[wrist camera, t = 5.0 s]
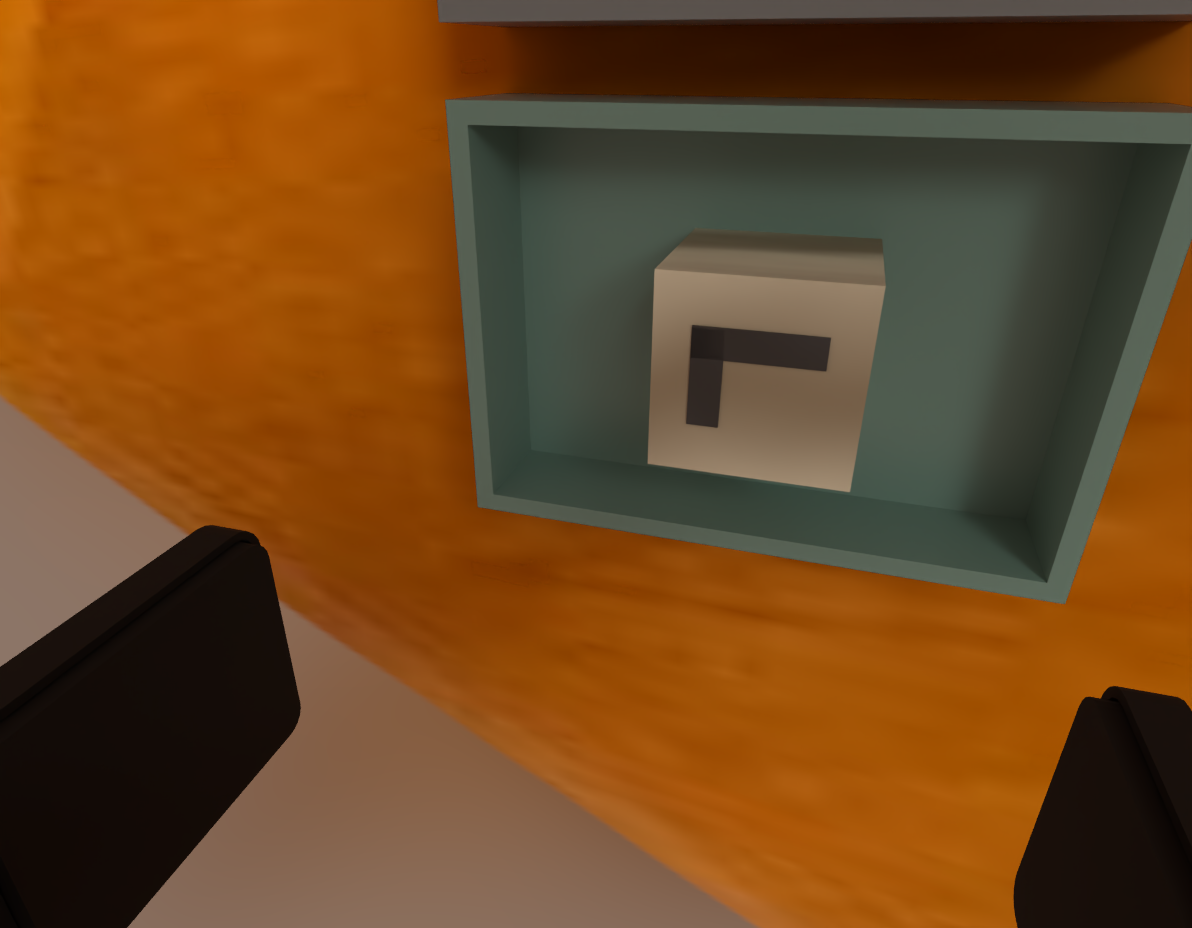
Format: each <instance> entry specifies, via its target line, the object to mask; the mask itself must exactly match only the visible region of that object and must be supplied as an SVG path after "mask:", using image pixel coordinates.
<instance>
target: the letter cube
mask: <svg viewBox="0 0 1192 928" xmlns="http://www.w3.org/2000/svg"><path fill="white" fill-rule="evenodd" d="M885 288H886V283H885V270H884V257H883V244H882V239H874V238H858V237H841V236H824V235H807V234H790V233H774V232H757V231H740V230H723V229H706V228H695V229H694V230H693V231H692V232H691V233H690V234H689V235H688V236H687V237H686V238H685V239H684V240H683V241H682V242H681V243H680V244H679V245H678V246H677V247H676V248H675V249H674V250H673V251H672V252H671V253H670V254H669V255H668V256H667V257H666V258H665V259H664V260H663V261H662V262H661V263H660V264H659V265H658V266H657V267H656V268H655V272H654V300H653V328H652V356H651V384H650V412H649V440H648V464H653V465H660V466H667V467H674V468H681V469H689V470H696V471H703V472H710V473H717V474H724V475H731V476H738V477H745V478H752V479H759V480H767V481H774V482H781V483H788V484H795V485H802V486H809V487H816V488H823V489H830V490H837V491H844V492H850V489H851V483H852V477H853V471H854V466H855V460H856V454H857V448H858V443H859V437H860V431H861V425H862V420H863V414H864V408H865V402H866V397H867V391H868V385H869V379H870V374H871V368H872V362H873V356H874V351H875V345H876V339H877V333H878V328H879V322H880V316H881V310H882V305H883V299H884V293H885Z"/></svg>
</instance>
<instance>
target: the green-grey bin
mask: <svg viewBox="0 0 1192 928" xmlns="http://www.w3.org/2000/svg"><path fill="white" fill-rule="evenodd" d="M445 102H446V115H447V127H448V140H449V152H450V165H451V177H452V190H453V202H454V215H455V227H456V240H457V252H458V265H459V277H460V290H461V302H462V315H463V327H464V340H465V352H466V365H467V377H468V390H469V402H470V415H471V427H472V440H473V452H474V465H475V477H476V490H477V502H478V507H481V508H487V509H493V510H499V511H505V512H511V513H517V514H523V515H529V516H535V517H541V518H547V519H553V520H559V521H565V522H571V523H577V524H584V525H590V526H596V527H602V528H608V529H614V530H620V531H626V532H632V533H638V534H644V535H650V536H656V537H662V538H668V539H674V540H680V541H686V542H692V543H698V544H704V545H710V546H716V547H723V548H729V549H735V550H741V551H747V552H753V553H759V554H765V555H771V556H777V557H783V558H789V559H795V560H801V561H807V562H813V563H819V564H825V565H831V566H837V567H843V568H849V569H855V570H862V571H868V572H874V573H880V574H886V575H892V576H898V577H904V578H910V579H916V580H922V581H928V582H934V583H940V584H946V585H952V586H958V587H964V588H970V589H976V590H982V591H988V592H994V593H1001V594H1007V595H1013V596H1019V597H1025V598H1031V599H1037V600H1043V601H1049V602H1055V603H1061V604H1065V603H1066V600H1067V597H1068V594H1069V591H1070V588H1071V585H1072V583H1073V580H1074V577H1075V574H1076V571H1077V568H1078V565H1079V562H1080V560H1081V557H1082V554H1083V551H1084V548H1085V545H1086V542H1087V539H1088V536H1089V534H1090V531H1091V528H1092V525H1093V522H1094V519H1095V516H1096V513H1097V511H1098V508H1099V505H1100V502H1101V499H1102V496H1103V493H1104V490H1105V488H1106V485H1107V482H1108V479H1109V476H1110V473H1111V470H1112V467H1113V464H1114V462H1115V459H1116V456H1117V453H1118V450H1119V447H1120V444H1121V441H1122V439H1123V436H1124V433H1125V430H1126V427H1127V424H1128V421H1129V418H1130V416H1131V413H1132V410H1133V407H1134V404H1135V401H1136V398H1137V395H1138V392H1139V390H1140V387H1141V384H1142V381H1143V378H1144V375H1145V372H1146V369H1147V367H1148V364H1149V361H1150V358H1151V355H1152V352H1153V349H1154V346H1155V343H1156V341H1157V338H1158V335H1159V332H1160V329H1161V326H1162V323H1163V320H1164V318H1165V315H1166V312H1167V309H1168V306H1169V303H1170V300H1171V297H1172V295H1173V292H1174V289H1175V286H1176V283H1177V280H1178V277H1179V274H1180V271H1181V269H1182V266H1183V263H1184V260H1185V257H1186V254H1187V251H1188V248H1189V246H1190V243H1191V240H1192V107H1189V106H1183V105H1177V104H1171V103H1124V102H1058V101H993V100H927V99H862V98H796V97H730V96H665V95H599V94H533V93H503V94H494V95H485V96H475V97H466V98H457V99H447V100H445ZM695 228H706V229H723V230H740V231H757V232H774V233H790V234H807V235H824V236H841V237H858V238H874V239H882V244H883V257H884V270H885V283H886V288H885V293H884V299H883V305H882V310H881V316H880V322H879V328H878V333H877V339H876V345H875V351H874V356H873V362H872V368H871V374H870V379H869V385H868V391H867V397H866V402H865V408H864V414H863V420H862V425H861V431H860V437H859V443H858V448H857V454H856V460H855V466H854V471H853V477H852V483H851V489H850V492H844V491H837V490H830V489H823V488H816V487H809V486H802V485H795V484H788V483H781V482H774V481H767V480H759V479H752V478H745V477H738V476H731V475H724V474H717V473H710V472H703V471H696V470H689V469H681V468H674V467H667V466H660V465H653V464H648V440H649V412H650V384H651V356H652V328H653V300H654V272H655V268H656V267H657V266H658V265H659V264H660V263H661V262H662V261H663V260H664V259H665V258H666V257H667V256H668V255H669V254H670V253H671V252H672V251H673V250H674V249H675V248H676V247H677V246H678V245H679V244H680V243H681V242H682V241H683V240H684V239H685V238H686V237H687V236H688V235H689V234H690V233H691V232H692V231H693V230H694V229H695Z"/></svg>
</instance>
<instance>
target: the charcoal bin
mask: <svg viewBox="0 0 1192 928" xmlns="http://www.w3.org/2000/svg"><path fill="white" fill-rule="evenodd" d="M437 2H438V15H439V22H444V23H458V24H471V25H484V26H498V27H559V26H677V25H794V24H912V23H1030V22H1147V21H1192V0H437Z"/></svg>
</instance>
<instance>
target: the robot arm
mask: <svg viewBox="0 0 1192 928" xmlns="http://www.w3.org/2000/svg"><path fill="white" fill-rule="evenodd" d="M300 709H301V707H300V700H299V695H298V691H297V686H296V681H295V676H294V672H293V667H292V662H291V658H290V653H289V648H288V644H287V639H286V634H285V629H284V625H283V620H282V615H281V611H280V606H279V601H278V597H277V592H276V587H275V583H274V578H273V573H272V569H271V564H270V559H269V555H268V553H267V551H266V549H265V548H264V547H262V546H261V545H260V543H259V540H258V539H257V537H256V536H255V535H254V534H252V533H250V532H247V531H242V530H236V529H231V528H225V527H219V526H214V525H209V526H204V527H201V528H199V529H197V530H196V531H194V532H193V533H192V534H190V535H189V536H187V537H186V538H185V539H183V540H182V541H180V542H179V543H178V544H176V545H174V546H173V547H172V548H170V549H169V550H167V551H166V552H164V553H163V554H161V555H160V556H159V557H157V558H156V559H154V560H153V561H151V562H150V563H149V564H147V565H146V566H144V567H143V568H142V569H140V570H139V571H137V572H136V573H134V574H133V575H131V576H130V577H129V578H127V579H126V580H124V581H123V582H122V583H120V584H119V585H117V586H116V587H114V588H113V589H112V590H110V591H108V592H107V593H106V594H104V595H103V596H101V597H100V598H99V599H97V600H96V601H94V602H93V603H91V604H90V605H88V606H87V607H85V608H84V609H83V610H81V611H80V612H78V613H77V614H75V615H74V616H73V617H71V618H70V619H68V620H67V621H65V622H64V623H62V624H61V625H60V626H58V627H57V628H55V629H54V630H52V631H51V632H50V633H48V634H47V635H46V636H44V637H43V638H41V639H40V640H38V641H37V642H35V643H34V644H33V645H31V646H29V647H28V648H27V649H25V650H24V651H22V652H21V653H19V654H18V655H17V656H15V657H14V658H12V659H11V660H9V661H8V662H7V663H5V664H4V665H2V666H1V667H0V928H127V927H128V926H129V925H130V924H131V922H132V921H133V920H134V919H135V918H136V917H137V915H138V914H139V913H140V912H141V911H142V910H143V908H144V907H145V906H146V905H147V904H148V902H149V901H150V900H151V899H152V898H153V896H154V895H155V894H156V893H157V892H158V891H159V889H160V888H161V887H162V886H163V885H164V883H165V882H166V881H167V880H168V879H169V878H170V876H171V875H172V874H173V873H174V872H175V871H176V869H177V868H178V867H179V866H180V865H181V863H182V862H183V861H184V860H185V859H186V858H187V856H188V855H189V854H190V853H191V852H192V850H193V849H194V848H195V847H196V846H197V845H198V843H199V842H200V841H201V840H202V839H203V838H204V836H205V835H206V834H207V833H208V832H209V830H210V829H211V828H212V827H213V826H214V824H215V823H216V822H217V821H218V820H219V819H220V817H221V816H222V815H223V814H224V813H225V812H226V810H227V809H228V808H229V807H230V806H231V804H232V803H233V802H234V801H235V800H236V798H237V797H238V796H239V795H240V794H241V793H242V791H243V790H244V789H245V788H246V787H247V785H248V784H249V783H250V782H251V781H252V780H253V778H254V777H255V776H256V775H257V774H258V773H259V771H260V770H261V769H262V768H263V767H264V766H265V764H266V763H267V762H268V761H269V760H270V758H271V757H272V756H273V755H274V754H275V752H276V751H277V750H278V749H279V748H280V747H281V745H282V744H283V743H284V742H285V741H286V740H287V738H288V737H289V736H290V735H291V733H292V732H293V730H294V729H295V727H296V724H297V723H298V719H299V716H300ZM1014 910H1015V917H1016V922H1017V927H1018V928H1192V711H1191V709H1190V708H1189V706H1188V705H1187V704H1186V702H1185V701H1184V700H1182V699H1180V698H1178V697H1174V696H1168V695H1162V694H1157V693H1151V692H1145V691H1140V690H1134V689H1129V688H1123V687H1117V686H1112V687H1109V688H1108V689H1107V690H1106V691H1105V692H1104V693H1103V695H1102V697H1101V699H1099V698H1094V697H1086V698H1084V699H1083V700H1082V702H1081V704H1080V706H1079V708H1078V711H1077V713H1076V716H1075V719H1074V722H1073V724H1072V727H1071V730H1070V732H1069V735H1068V738H1067V740H1066V743H1065V746H1064V748H1063V751H1062V754H1061V756H1060V759H1059V762H1058V764H1057V767H1056V770H1055V772H1054V775H1053V778H1052V780H1051V783H1050V786H1049V788H1048V791H1047V794H1046V796H1045V799H1044V802H1043V805H1042V807H1041V810H1040V813H1039V815H1038V818H1037V821H1036V823H1035V826H1034V829H1033V831H1032V834H1031V837H1030V839H1029V842H1028V845H1027V847H1026V850H1025V853H1024V855H1023V858H1022V861H1021V863H1020V866H1019V869H1018V871H1017V875H1016V878H1015V885H1014Z"/></svg>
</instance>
